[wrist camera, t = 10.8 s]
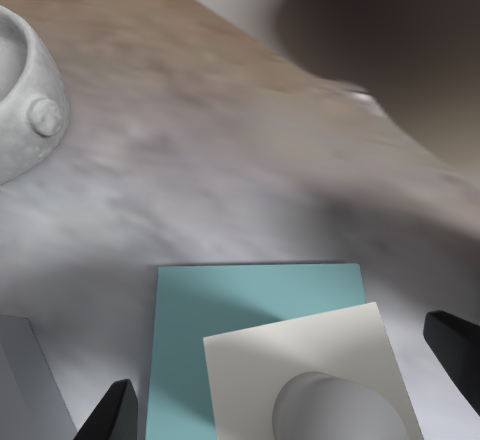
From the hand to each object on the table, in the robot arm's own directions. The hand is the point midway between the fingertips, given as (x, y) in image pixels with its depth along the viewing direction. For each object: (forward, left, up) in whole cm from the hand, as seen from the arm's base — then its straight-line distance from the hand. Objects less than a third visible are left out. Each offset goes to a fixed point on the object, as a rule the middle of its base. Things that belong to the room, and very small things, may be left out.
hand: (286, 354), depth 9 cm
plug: (-1, 0, -8) cm, 8 cm away
